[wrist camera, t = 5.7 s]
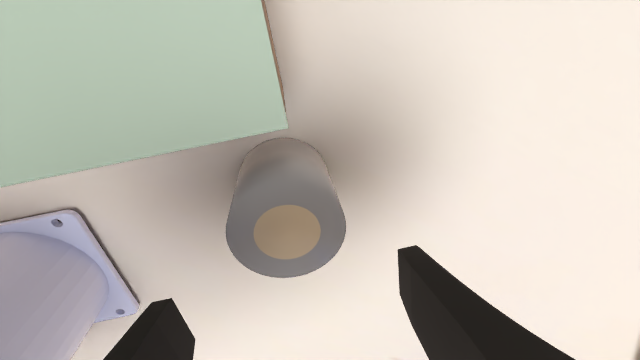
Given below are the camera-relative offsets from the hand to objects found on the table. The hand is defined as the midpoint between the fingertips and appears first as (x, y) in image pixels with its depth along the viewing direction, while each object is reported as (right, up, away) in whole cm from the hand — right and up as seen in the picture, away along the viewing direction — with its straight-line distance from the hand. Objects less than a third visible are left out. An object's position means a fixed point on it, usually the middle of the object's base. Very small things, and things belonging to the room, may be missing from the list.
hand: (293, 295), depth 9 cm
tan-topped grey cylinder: (-1, +4, +7) cm, 8 cm away
